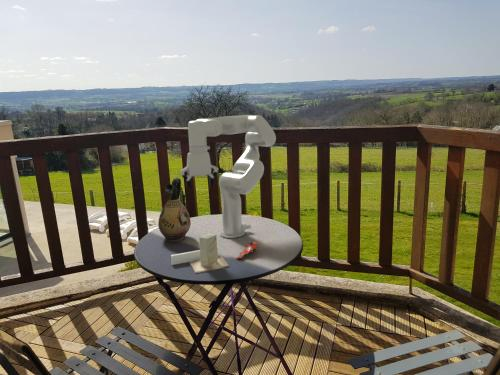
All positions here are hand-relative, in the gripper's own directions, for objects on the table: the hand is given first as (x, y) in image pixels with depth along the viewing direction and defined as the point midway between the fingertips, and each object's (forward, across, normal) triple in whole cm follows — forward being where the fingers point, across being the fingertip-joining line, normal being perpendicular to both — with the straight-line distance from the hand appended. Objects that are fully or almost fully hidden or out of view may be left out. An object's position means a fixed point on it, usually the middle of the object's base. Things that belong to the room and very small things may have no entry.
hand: (200, 187), depth 162 cm
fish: (+29, -16, +16) cm, 37 cm away
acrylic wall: (+28, +7, +12) cm, 32 cm away
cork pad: (+28, +3, +19) cm, 34 cm away
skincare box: (+28, +3, +19) cm, 34 cm away
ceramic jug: (+28, +9, -17) cm, 34 cm away
